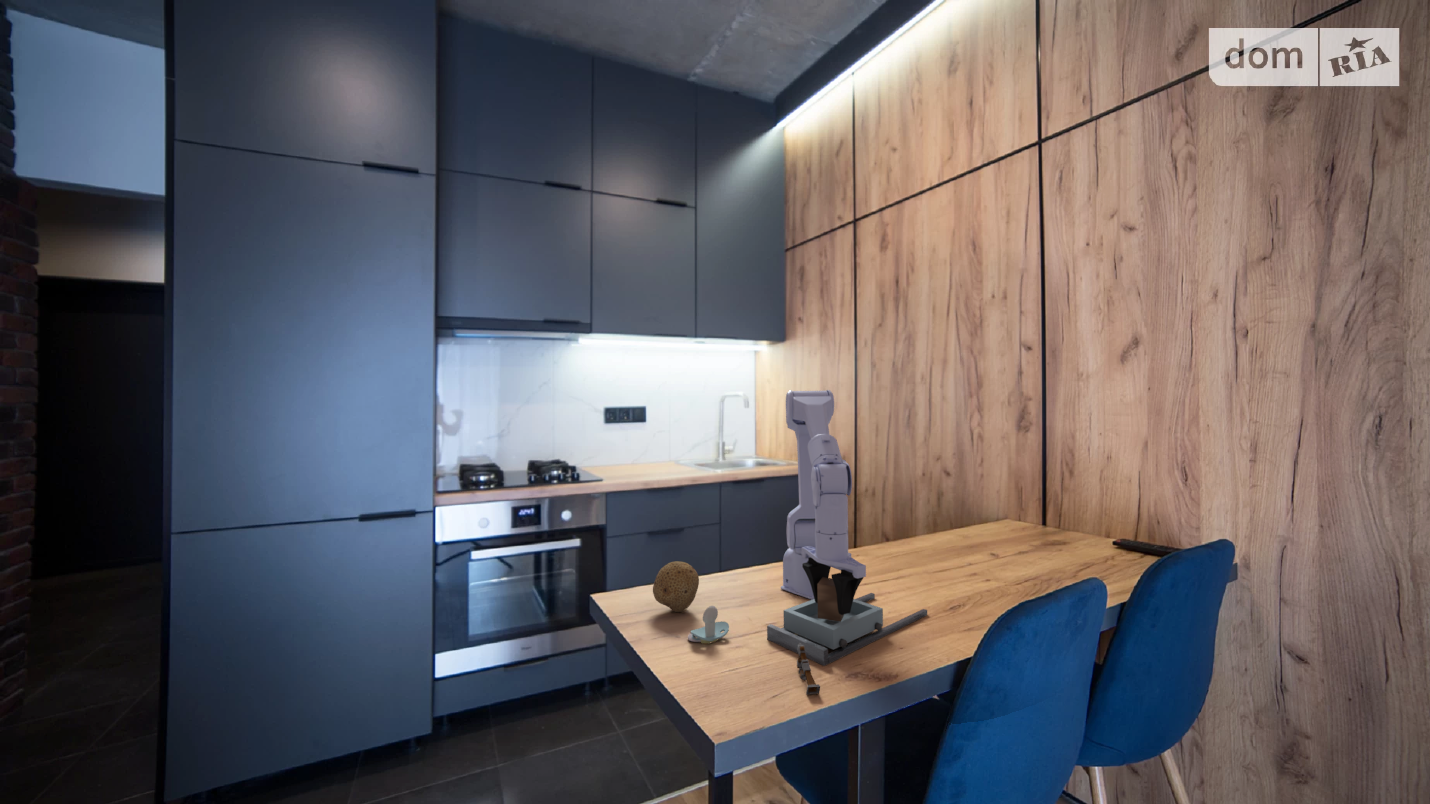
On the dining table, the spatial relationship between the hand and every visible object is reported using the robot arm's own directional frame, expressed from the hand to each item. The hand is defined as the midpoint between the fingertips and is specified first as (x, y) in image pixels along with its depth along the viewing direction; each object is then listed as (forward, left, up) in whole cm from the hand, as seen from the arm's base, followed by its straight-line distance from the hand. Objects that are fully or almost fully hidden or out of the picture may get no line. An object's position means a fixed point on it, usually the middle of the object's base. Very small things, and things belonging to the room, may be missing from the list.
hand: (832, 607), depth 96 cm
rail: (0, +6, -5) cm, 8 cm away
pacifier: (-14, -18, -5) cm, 23 cm away
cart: (0, 0, -4) cm, 4 cm away
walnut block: (0, 0, -1) cm, 1 cm away
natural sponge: (-27, -15, -5) cm, 31 cm away
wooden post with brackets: (+8, -16, -5) cm, 19 cm away
